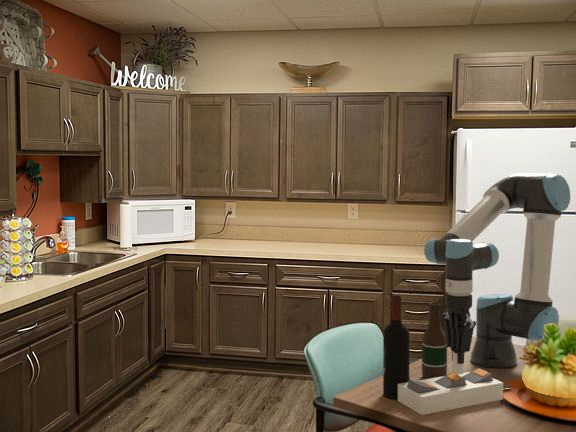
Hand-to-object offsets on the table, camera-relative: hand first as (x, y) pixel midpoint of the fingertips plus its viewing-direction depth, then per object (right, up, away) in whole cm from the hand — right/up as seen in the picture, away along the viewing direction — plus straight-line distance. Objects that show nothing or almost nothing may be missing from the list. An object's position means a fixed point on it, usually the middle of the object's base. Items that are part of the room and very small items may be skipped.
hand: (457, 373), depth 195 cm
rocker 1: (-11, -4, -5) cm, 13 cm away
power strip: (+1, -7, +1) cm, 8 cm away
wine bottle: (-17, -8, +4) cm, 19 cm away
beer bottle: (-2, -6, +20) cm, 21 cm away
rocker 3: (+7, -3, +3) cm, 8 cm away
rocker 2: (-2, -4, -1) cm, 4 cm away
